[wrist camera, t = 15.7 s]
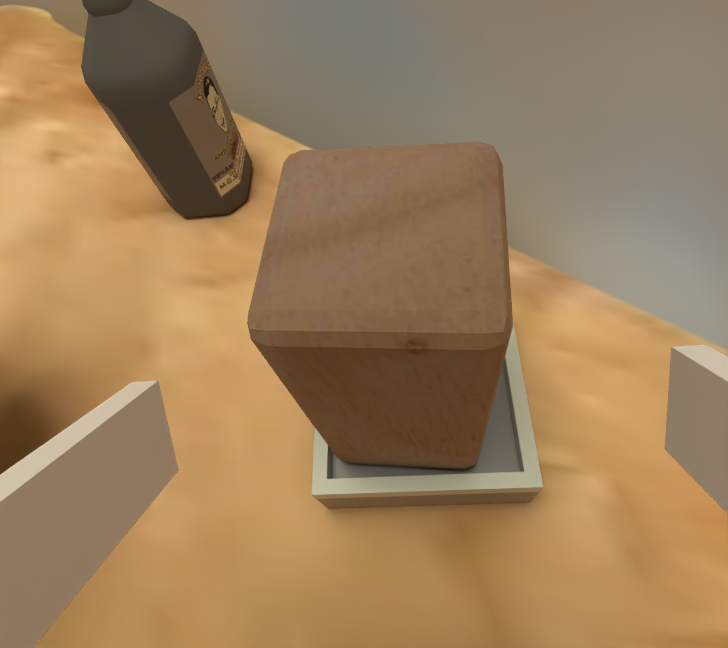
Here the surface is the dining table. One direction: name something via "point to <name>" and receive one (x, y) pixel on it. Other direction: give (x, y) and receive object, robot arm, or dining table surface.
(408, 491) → the square tray
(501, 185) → the wooden block
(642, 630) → the dining table surface
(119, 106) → the liquor
